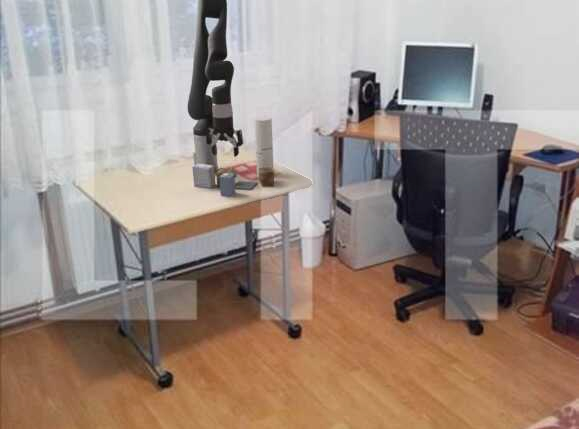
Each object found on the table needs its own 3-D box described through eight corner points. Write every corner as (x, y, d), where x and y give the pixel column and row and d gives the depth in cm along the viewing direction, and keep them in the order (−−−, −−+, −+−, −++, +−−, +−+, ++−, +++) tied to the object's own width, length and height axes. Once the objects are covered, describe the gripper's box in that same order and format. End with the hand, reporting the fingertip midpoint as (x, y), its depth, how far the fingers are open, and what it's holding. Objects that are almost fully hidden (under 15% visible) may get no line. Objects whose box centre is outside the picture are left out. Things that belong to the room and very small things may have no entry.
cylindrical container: (273, 178, 272) (271, 120, 262) (256, 178, 272) (253, 120, 262) (274, 172, 278) (271, 115, 268) (257, 172, 278) (254, 116, 269)
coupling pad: (232, 188, 261) (232, 187, 261) (239, 182, 268) (239, 180, 268) (250, 190, 259) (250, 188, 259) (257, 183, 266) (257, 182, 266)
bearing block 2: (261, 187, 262) (260, 173, 260) (258, 182, 268) (257, 168, 265) (274, 185, 263) (273, 171, 261) (271, 180, 269) (270, 167, 266)
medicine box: (215, 185, 266) (214, 165, 262) (210, 188, 262) (208, 168, 259) (199, 183, 269) (197, 163, 265) (193, 186, 265) (192, 166, 262)
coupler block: (220, 195, 254) (219, 176, 251) (225, 191, 258) (223, 172, 255) (231, 196, 253) (230, 176, 250) (235, 192, 257) (234, 173, 254)
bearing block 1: (217, 186, 264) (216, 172, 262) (222, 181, 269) (221, 168, 267) (233, 187, 262) (232, 174, 260) (238, 182, 267) (237, 169, 265)
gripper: (201, 116, 242) (204, 157, 248) (236, 117, 238) (239, 159, 244) (209, 111, 248) (212, 151, 255) (243, 112, 245) (246, 153, 251)
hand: (225, 155), depth 249 cm, fingers open, 8 cm apart
